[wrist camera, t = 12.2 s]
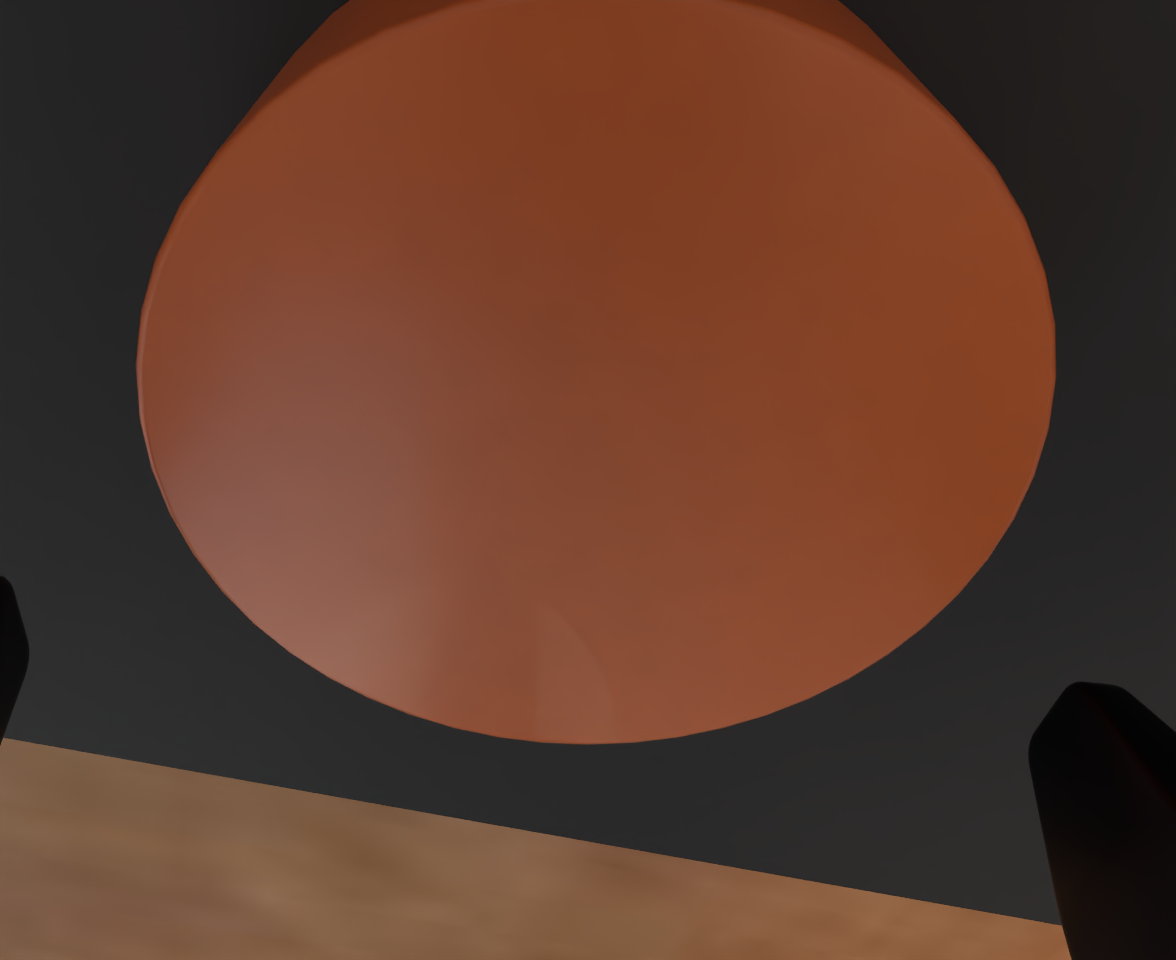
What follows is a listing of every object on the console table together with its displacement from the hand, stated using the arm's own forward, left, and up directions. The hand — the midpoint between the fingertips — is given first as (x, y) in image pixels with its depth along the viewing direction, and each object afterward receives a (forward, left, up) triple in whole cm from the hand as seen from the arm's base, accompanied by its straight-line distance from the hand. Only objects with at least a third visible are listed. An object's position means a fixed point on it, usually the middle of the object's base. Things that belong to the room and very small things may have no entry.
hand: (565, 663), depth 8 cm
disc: (-2, +1, -2) cm, 2 cm away
